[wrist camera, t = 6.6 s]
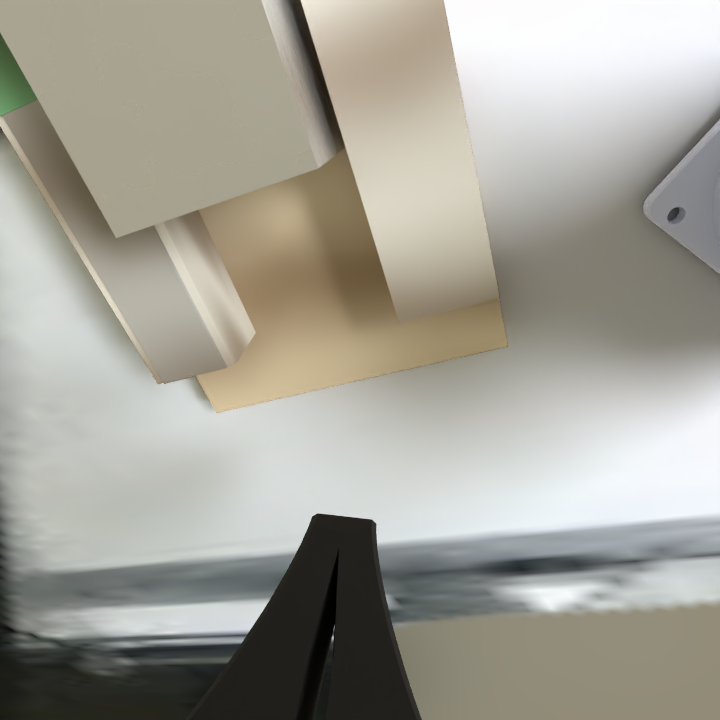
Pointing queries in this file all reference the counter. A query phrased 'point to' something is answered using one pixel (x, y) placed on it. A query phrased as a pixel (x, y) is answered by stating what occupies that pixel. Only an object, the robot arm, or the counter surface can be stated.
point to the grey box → (175, 97)
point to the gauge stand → (305, 229)
